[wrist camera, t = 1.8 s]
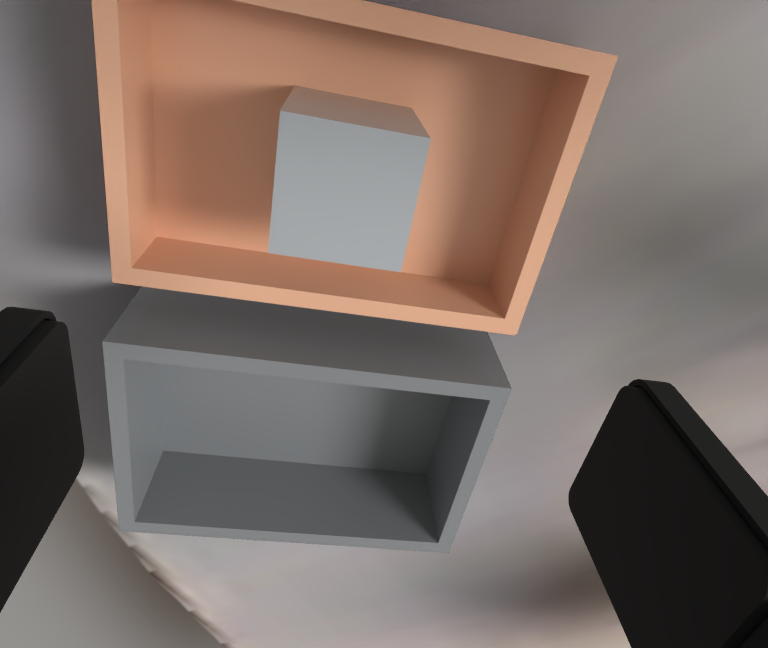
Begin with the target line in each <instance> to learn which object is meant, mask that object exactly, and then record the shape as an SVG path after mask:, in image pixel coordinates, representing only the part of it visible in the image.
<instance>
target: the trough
mask: <svg viewBox="0 0 768 648" xmlns="http://www.w3.org/2000/svg"><path fill="white" fill-rule="evenodd" d="M91 1H92V15H93V28H94V42H95V55H96V69H97V82H98V96H99V109H100V123H101V136H102V150H103V163H104V177H105V190H106V204H107V217H108V231H109V244H110V258H111V271H112V283H120V284H128V285H135V286H143V287H150V288H158V289H166V290H173V291H181V292H189V293H196V294H204V295H211V296H219V297H227V298H234V299H242V300H249V301H257V302H265V303H272V304H280V305H288V306H295V307H303V308H310V309H318V310H326V311H333V312H341V313H348V314H356V315H364V316H371V317H379V318H387V319H394V320H402V321H409V322H417V323H425V324H432V325H440V326H447V327H455V328H463V329H470V330H478V331H485V332H493V333H501V334H508V335H516V334H517V332H518V329H519V326H520V323H521V321H522V318H523V315H524V312H525V310H526V307H527V304H528V302H529V299H530V296H531V293H532V291H533V288H534V285H535V282H536V280H537V277H538V274H539V272H540V269H541V266H542V263H543V261H544V258H545V255H546V252H547V250H548V247H549V244H550V242H551V239H552V236H553V233H554V231H555V228H556V225H557V222H558V220H559V217H560V214H561V212H562V209H563V206H564V203H565V201H566V198H567V195H568V192H569V190H570V187H571V184H572V181H573V179H574V176H575V173H576V171H577V168H578V165H579V162H580V160H581V157H582V154H583V151H584V149H585V146H586V143H587V141H588V138H589V135H590V132H591V130H592V127H593V124H594V121H595V119H596V116H597V113H598V111H599V108H600V105H601V102H602V100H603V97H604V94H605V91H606V89H607V86H608V83H609V81H610V78H611V75H612V72H613V70H614V67H615V64H616V61H617V59H618V56H615V55H610V54H606V53H601V52H597V51H592V50H588V49H583V48H578V47H574V46H569V45H565V44H560V43H556V42H551V41H547V40H542V39H537V38H533V37H528V36H524V35H519V34H515V33H510V32H506V31H501V30H496V29H492V28H487V27H483V26H478V25H474V24H469V23H465V22H460V21H455V20H451V19H446V18H442V17H437V16H433V15H428V14H424V13H419V12H414V11H410V10H405V9H401V8H396V7H392V6H387V5H383V4H378V3H373V2H369V1H364V0H91ZM294 86H301V87H306V88H311V89H316V90H321V91H327V92H332V93H337V94H342V95H348V96H353V97H358V98H363V99H368V100H374V101H379V102H384V103H389V104H394V105H400V106H405V107H410V108H412V109H413V111H414V112H415V114H416V115H417V117H418V119H419V120H420V122H421V123H422V125H423V127H424V128H425V130H426V131H427V133H428V135H429V136H430V138H431V140H430V145H429V149H428V154H427V158H426V163H425V167H424V172H423V176H422V181H421V185H420V189H419V194H418V198H417V203H416V207H415V212H414V216H413V221H412V225H411V230H410V234H409V239H408V243H407V247H406V252H405V256H404V261H403V265H402V270H401V272H395V271H389V270H382V269H375V268H368V267H361V266H354V265H347V264H340V263H333V262H326V261H320V260H313V259H306V258H299V257H292V256H285V255H278V254H271V253H268V246H269V235H270V223H271V211H272V199H273V188H274V176H275V164H276V152H277V141H278V129H279V117H280V110H281V108H282V106H283V105H284V103H285V101H286V100H287V98H288V96H289V95H290V93H291V91H292V89H293V88H294Z"/></svg>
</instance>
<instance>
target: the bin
mask: <svg viewBox="0 0 768 648" xmlns="http://www.w3.org/2000/svg"><path fill="white" fill-rule="evenodd" d="M102 345H103V356H104V367H105V378H106V390H107V401H108V412H109V423H110V434H111V445H112V456H113V467H114V478H115V489H116V501H117V512H118V523H119V531H126V532H141V533H156V534H171V535H186V536H201V537H216V538H231V539H246V540H261V541H276V542H291V543H306V544H321V545H336V546H351V547H367V548H382V549H397V550H412V551H427V552H442V553H449V550H450V548H451V545H452V543H453V540H454V537H455V535H456V532H457V530H458V527H459V524H460V522H461V519H462V517H463V514H464V511H465V509H466V506H467V504H468V501H469V498H470V496H471V493H472V491H473V488H474V485H475V483H476V480H477V478H478V475H479V472H480V470H481V467H482V465H483V462H484V459H485V457H486V454H487V452H488V449H489V446H490V444H491V441H492V439H493V436H494V433H495V431H496V428H497V426H498V423H499V420H500V418H501V415H502V413H503V410H504V407H505V405H506V402H507V399H508V397H509V394H510V392H511V389H512V388H511V386H510V384H509V381H508V379H507V377H506V374H505V372H504V370H503V367H502V365H501V363H500V360H499V358H498V356H497V353H496V351H495V349H494V347H493V344H492V342H491V340H490V337H489V335H488V333H487V332H485V331H478V330H470V329H463V328H455V327H447V326H440V325H432V324H425V323H417V322H409V321H402V320H394V319H387V318H379V317H371V316H364V315H356V314H348V313H341V312H333V311H326V310H318V309H310V308H303V307H295V306H288V305H280V304H272V303H265V302H257V301H249V300H242V299H234V298H227V297H219V296H211V295H204V294H196V293H189V292H181V291H173V290H166V289H158V288H150V287H143V286H141V287H140V289H139V290H138V292H137V293H136V294H135V296H134V297H133V299H132V300H131V301H130V303H129V304H128V306H127V307H126V309H125V310H124V311H123V313H122V314H121V316H120V317H119V318H118V320H117V321H116V323H115V324H114V325H113V327H112V328H111V330H110V331H109V332H108V334H107V335H106V337H105V338H104V339H103V341H102Z"/></svg>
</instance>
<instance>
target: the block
mask: <svg viewBox="0 0 768 648" xmlns="http://www.w3.org/2000/svg"><path fill="white" fill-rule="evenodd" d="M430 140H431V138H430V136H429V135H428V133H427V131H426V130H425V128H424V127H423V125H422V123H421V122H420V120H419V119H418V117H417V115H416V114H415V112H414V111H413V109H412V108H410V107H405V106H400V105H394V104H389V103H384V102H379V101H374V100H368V99H363V98H358V97H353V96H348V95H342V94H337V93H332V92H327V91H321V90H316V89H311V88H306V87H301V86H294V88H293V89H292V91H291V93H290V95H289V96H288V98H287V100H286V101H285V103H284V105H283V106H282V108H281V110H280V117H279V129H278V141H277V152H276V164H275V176H274V188H273V199H272V211H271V223H270V235H269V246H268V253H271V254H278V255H285V256H292V257H299V258H306V259H313V260H320V261H326V262H333V263H340V264H347V265H354V266H361V267H368V268H375V269H382V270H389V271H395V272H401V270H402V265H403V261H404V256H405V252H406V247H407V243H408V239H409V234H410V230H411V225H412V221H413V216H414V212H415V207H416V203H417V198H418V194H419V189H420V185H421V181H422V176H423V172H424V167H425V163H426V158H427V154H428V149H429V145H430Z"/></svg>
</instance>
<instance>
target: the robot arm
mask: <svg viewBox="0 0 768 648" xmlns="http://www.w3.org/2000/svg"><path fill="white" fill-rule="evenodd" d="M83 459H84V445H83V437H82V430H81V423H80V415H79V408H78V401H77V394H76V386H75V379H74V372H73V364H72V357H71V350H70V343H69V335H68V330H67V326H66V325H65V323H63V322H57V321H56V318H55V316H54V315H53V313H51V312H50V311H43V310H34V309H25V308H17V307H7V308H5V309H3V310H2V311H1V312H0V612H1V610H2V609H3V607H4V605H5V603H6V601H7V599H8V598H9V596H10V594H11V593H12V591H13V589H14V587H15V585H16V584H17V582H18V580H19V578H20V576H21V575H22V573H23V571H24V569H25V568H26V566H27V564H28V562H29V561H30V559H31V557H32V555H33V553H34V552H35V550H36V548H37V546H38V545H39V543H40V541H41V539H42V538H43V535H44V534H45V532H46V530H47V529H48V527H49V525H50V523H51V521H52V520H53V518H54V516H55V514H56V513H57V511H58V509H59V507H60V506H61V504H62V502H63V500H64V498H65V497H66V495H67V493H68V491H69V489H70V488H71V486H72V484H73V482H74V481H75V479H76V477H77V475H78V473H79V471H80V469H81V466H82V463H83ZM569 507H570V510H571V512H572V514H573V517H574V519H575V521H576V523H577V526H578V528H579V530H580V532H581V535H582V537H583V539H584V542H585V544H586V546H587V548H588V551H589V553H590V555H591V557H592V560H593V562H594V564H595V566H596V569H597V571H598V573H599V575H600V578H601V580H602V582H603V584H604V587H605V589H606V591H607V593H608V596H609V598H610V600H611V602H612V605H613V607H614V609H615V611H616V614H617V616H618V618H619V620H620V623H621V625H622V627H623V629H624V632H625V634H626V636H627V638H628V641H629V643H630V645H631V648H768V496H767V495H766V494H765V493H764V492H763V490H762V489H761V488H760V487H759V486H758V485H757V483H756V482H755V481H754V480H753V479H752V477H751V476H750V475H749V474H748V473H747V472H746V470H745V469H744V468H743V467H742V466H741V465H740V463H739V462H738V461H737V460H736V459H735V458H734V456H733V455H732V454H731V453H730V452H729V451H728V449H727V448H726V447H725V446H724V445H723V444H722V442H721V441H720V440H719V439H718V438H717V436H716V435H715V434H714V433H713V432H712V431H711V429H710V428H709V427H708V426H707V425H706V424H705V422H704V421H703V420H702V419H701V418H700V417H699V415H698V414H697V413H696V412H695V411H694V410H693V408H692V407H691V406H690V405H689V404H688V402H687V401H686V400H685V399H684V398H683V397H682V395H681V394H680V393H679V392H678V391H677V390H676V388H675V387H674V386H672V385H671V384H670V383H666V382H659V381H650V380H642V379H637V380H633V381H632V382H631V383H630V384H629V385H628V386H624V387H623V388H621V389H620V391H619V392H618V394H617V396H616V398H615V400H614V402H613V404H612V406H611V408H610V410H609V412H608V414H607V416H606V418H605V420H604V422H603V424H602V426H601V428H600V430H599V432H598V434H597V436H596V438H595V440H594V442H593V444H592V446H591V448H590V450H589V452H588V454H587V456H586V458H585V460H584V462H583V464H582V466H581V468H580V470H579V472H578V474H577V476H576V478H575V480H574V482H573V484H572V486H571V488H570V491H569Z"/></svg>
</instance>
